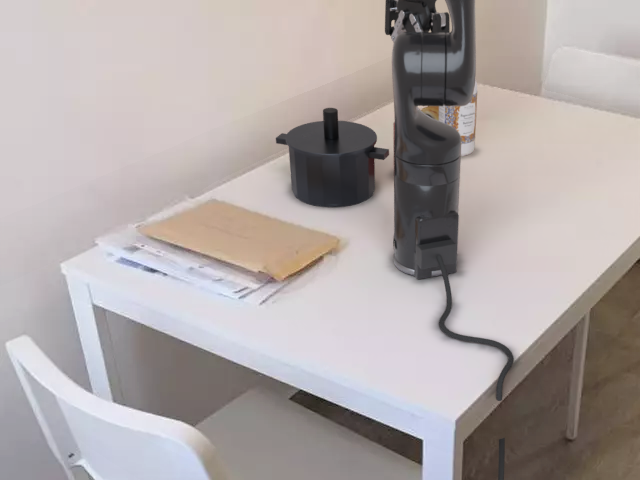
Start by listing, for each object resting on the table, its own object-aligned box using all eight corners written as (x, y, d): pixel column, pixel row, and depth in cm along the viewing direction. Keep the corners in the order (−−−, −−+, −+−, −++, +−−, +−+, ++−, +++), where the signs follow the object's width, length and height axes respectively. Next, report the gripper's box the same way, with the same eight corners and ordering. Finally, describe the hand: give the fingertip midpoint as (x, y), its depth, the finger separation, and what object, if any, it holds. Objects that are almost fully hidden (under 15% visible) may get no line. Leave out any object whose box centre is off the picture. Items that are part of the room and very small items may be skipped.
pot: (371, 215, 143) (370, 163, 138) (263, 197, 147) (258, 146, 142) (401, 182, 154) (401, 133, 149) (299, 166, 158) (296, 117, 153)
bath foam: (451, 160, 163) (454, 51, 152) (430, 147, 167) (433, 40, 156) (481, 152, 166) (487, 45, 155) (461, 140, 171) (465, 35, 160)
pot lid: (356, 166, 138) (355, 132, 135) (270, 152, 142) (267, 119, 138) (390, 133, 150) (389, 101, 147) (309, 121, 154) (307, 90, 150)
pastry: (438, 113, 183) (439, 95, 181) (466, 120, 180) (467, 102, 178) (412, 125, 177) (413, 107, 174) (440, 133, 174) (441, 115, 171)
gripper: (371, -40, 139) (372, 63, 148) (426, -23, 130) (424, 85, 139) (408, -44, 143) (408, 56, 152) (464, -29, 134) (460, 77, 143)
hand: (416, 70), depth 146 cm, fingers open, 8 cm apart
